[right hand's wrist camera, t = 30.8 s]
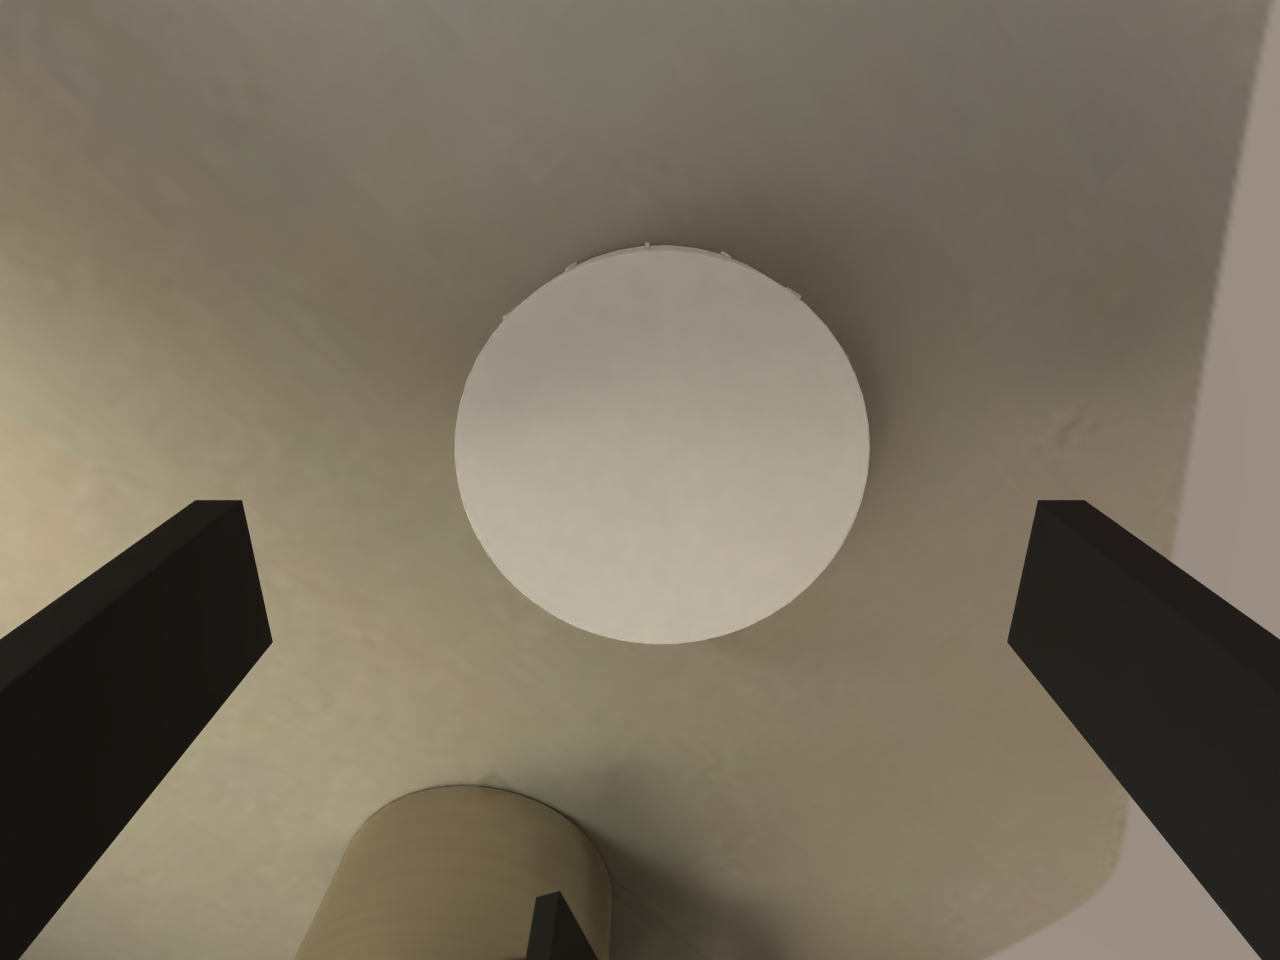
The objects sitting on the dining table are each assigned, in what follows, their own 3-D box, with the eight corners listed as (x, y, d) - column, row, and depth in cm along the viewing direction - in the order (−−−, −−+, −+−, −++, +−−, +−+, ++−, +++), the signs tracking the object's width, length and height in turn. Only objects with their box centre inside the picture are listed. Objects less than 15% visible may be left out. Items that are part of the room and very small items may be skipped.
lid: (557, 645, 24) (546, 691, 22) (408, 325, 21) (378, 340, 18) (887, 543, 23) (912, 581, 20) (787, 180, 19) (804, 177, 17)
